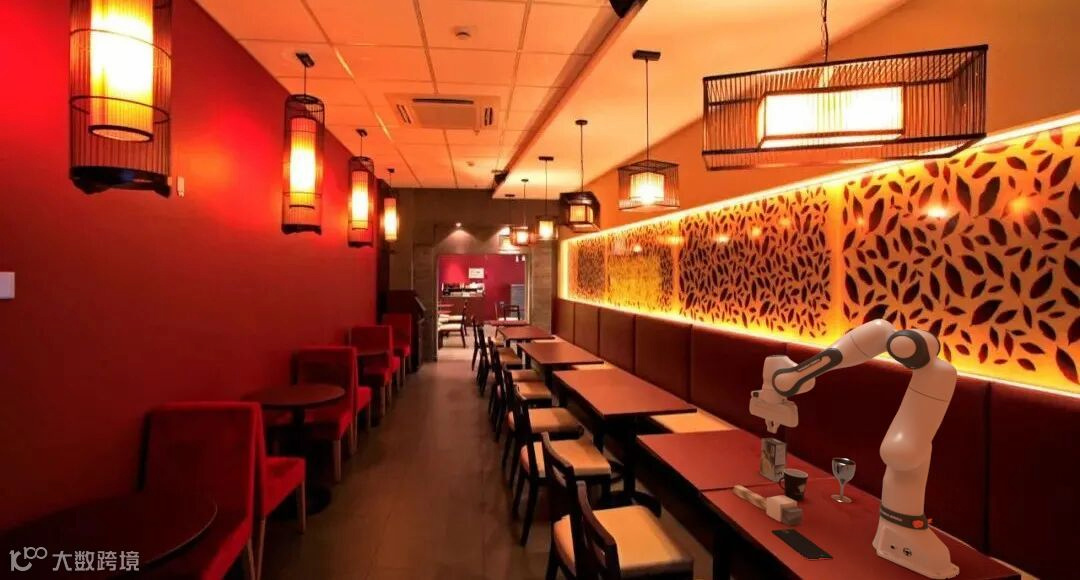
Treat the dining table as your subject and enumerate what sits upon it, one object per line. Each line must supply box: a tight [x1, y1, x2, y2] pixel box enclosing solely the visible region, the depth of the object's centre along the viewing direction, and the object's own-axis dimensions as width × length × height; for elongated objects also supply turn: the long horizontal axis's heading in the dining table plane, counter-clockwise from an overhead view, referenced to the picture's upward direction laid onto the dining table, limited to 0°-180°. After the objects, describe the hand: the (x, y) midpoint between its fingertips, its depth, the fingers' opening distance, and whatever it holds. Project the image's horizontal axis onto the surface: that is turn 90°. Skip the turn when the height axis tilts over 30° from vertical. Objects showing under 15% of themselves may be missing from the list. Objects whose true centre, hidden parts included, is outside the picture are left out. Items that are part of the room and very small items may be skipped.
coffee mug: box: [778, 468, 809, 503], centre depth 207 cm, size 12×9×10 cm
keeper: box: [765, 494, 798, 523], centre depth 189 cm, size 6×8×6 cm
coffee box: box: [759, 437, 788, 483], centre depth 228 cm, size 9×6×16 cm
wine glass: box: [830, 457, 856, 504], centre depth 209 cm, size 8×8×15 cm
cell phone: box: [771, 528, 834, 559], centre depth 170 cm, size 9×18×1 cm, turn 12°
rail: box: [733, 484, 803, 527], centre depth 196 cm, size 28×6×5 cm, turn 23°
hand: (771, 432), depth 203 cm, fingers closed
